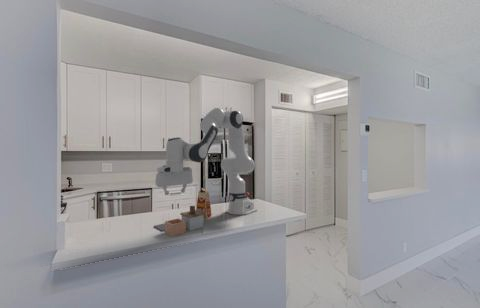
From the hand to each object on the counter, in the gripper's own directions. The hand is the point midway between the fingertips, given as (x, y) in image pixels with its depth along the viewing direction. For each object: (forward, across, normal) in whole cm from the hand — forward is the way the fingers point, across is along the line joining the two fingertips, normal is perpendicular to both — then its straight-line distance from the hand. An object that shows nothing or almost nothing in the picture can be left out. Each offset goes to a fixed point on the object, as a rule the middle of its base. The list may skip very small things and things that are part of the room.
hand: (175, 193), depth 127 cm
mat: (+21, -1, -12) cm, 24 cm away
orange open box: (+21, 0, 0) cm, 21 cm away
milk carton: (+21, -27, -13) cm, 37 cm away
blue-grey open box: (+21, -12, -2) cm, 24 cm away
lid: (+14, -12, -2) cm, 19 cm away
